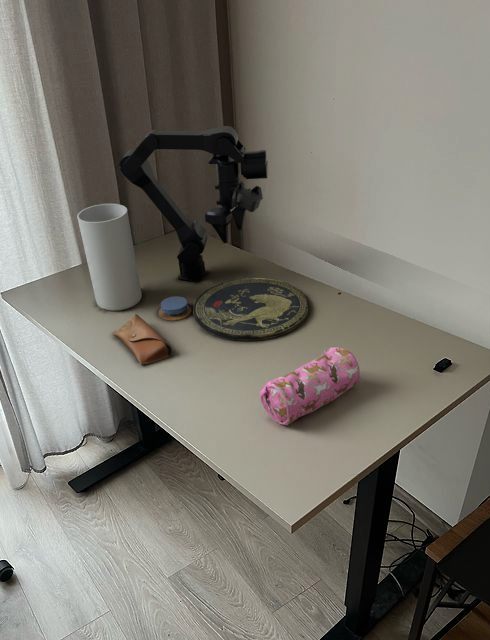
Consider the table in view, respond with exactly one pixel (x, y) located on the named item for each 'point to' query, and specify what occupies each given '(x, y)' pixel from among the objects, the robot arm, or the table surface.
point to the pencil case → (310, 385)
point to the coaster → (175, 317)
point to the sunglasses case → (143, 341)
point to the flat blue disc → (174, 305)
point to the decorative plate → (250, 309)
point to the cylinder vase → (110, 256)
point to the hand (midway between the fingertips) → (232, 236)
